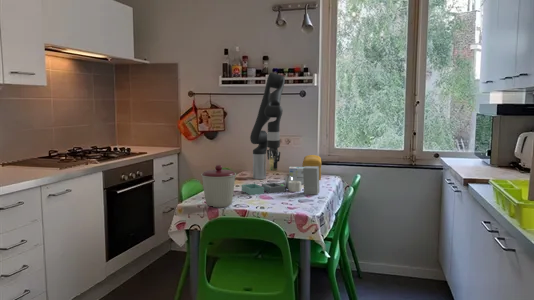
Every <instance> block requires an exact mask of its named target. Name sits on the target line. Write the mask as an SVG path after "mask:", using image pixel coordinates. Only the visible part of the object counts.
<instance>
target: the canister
mask: <svg viewBox="0 0 534 300" xmlns="http://www.w3.org/2000/svg"><path fill="white" fill-rule="evenodd" d="M200 176H201V177H202V185H203V193H204V194H203V195H204V200H205V203H206V205H207V206H208V205H209V206H208V207H210V206H213V207H212V208H225V207H229V206H231V204H232V202H233V198H234V192H235V191H234V190H235V181H236V176H237V173H236V172H234V171H233V170H231V169H230V170H229V169H223V166H222V165H221V164H216V165H215V167H214V169H208V170H205V171H203V172H202V173H201V174H200Z"/></svg>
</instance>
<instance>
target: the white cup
mask: <svg viewBox="0 0 534 300" xmlns="http://www.w3.org/2000/svg"><path fill="white" fill-rule="evenodd" d="M287 190H288V191H289V192H290V193H291V192H292V193H299V192H301V191H302V184H301V182H300V181H289V182H288V189H287Z"/></svg>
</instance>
